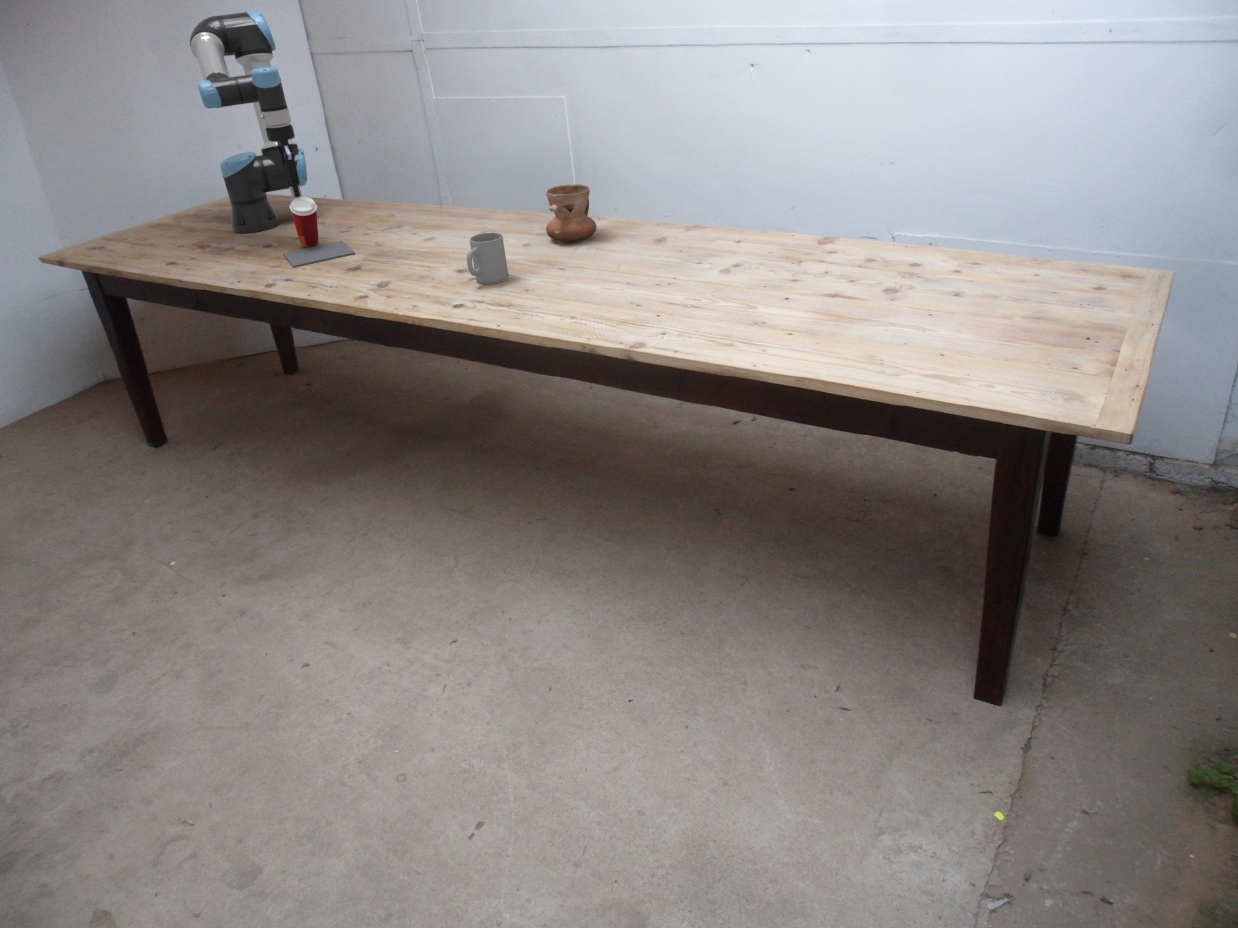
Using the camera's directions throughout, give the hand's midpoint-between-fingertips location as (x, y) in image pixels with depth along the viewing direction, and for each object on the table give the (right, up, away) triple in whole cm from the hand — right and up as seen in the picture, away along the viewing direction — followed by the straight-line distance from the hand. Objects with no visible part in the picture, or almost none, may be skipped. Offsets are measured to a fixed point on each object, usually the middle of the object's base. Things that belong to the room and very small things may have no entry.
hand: (299, 207), depth 275 cm
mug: (+63, -31, -40) cm, 80 cm away
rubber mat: (+7, -15, -4) cm, 17 cm away
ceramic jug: (+84, -12, -12) cm, 85 cm away
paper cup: (+1, -9, +5) cm, 11 cm away
